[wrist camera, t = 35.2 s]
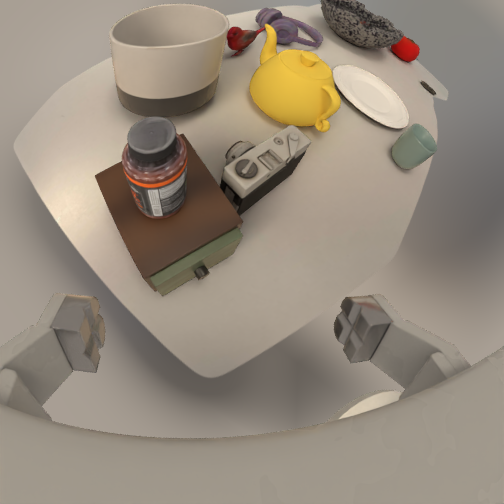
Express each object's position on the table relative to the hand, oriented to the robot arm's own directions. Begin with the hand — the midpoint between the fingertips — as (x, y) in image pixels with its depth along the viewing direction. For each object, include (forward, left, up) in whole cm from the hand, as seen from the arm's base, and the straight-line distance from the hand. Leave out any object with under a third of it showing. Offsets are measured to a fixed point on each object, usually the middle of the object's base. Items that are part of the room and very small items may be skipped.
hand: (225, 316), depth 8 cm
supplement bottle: (+14, -3, -20) cm, 25 cm away
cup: (+5, -56, -29) cm, 63 cm away
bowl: (+54, -91, -29) cm, 110 cm away
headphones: (+55, -61, -29) cm, 87 cm away
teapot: (+29, -38, -29) cm, 56 cm away
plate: (+24, -66, -29) cm, 76 cm away
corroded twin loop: (+24, -113, -29) cm, 119 cm away
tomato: (+44, -118, -29) cm, 129 cm away
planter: (+40, -16, -29) cm, 52 cm away
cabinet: (+14, -4, -29) cm, 33 cm away
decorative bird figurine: (+49, -40, -29) cm, 70 cm away
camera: (+15, -19, -29) cm, 38 cm away
